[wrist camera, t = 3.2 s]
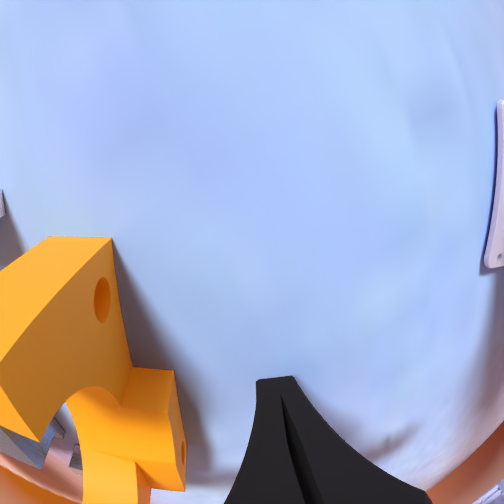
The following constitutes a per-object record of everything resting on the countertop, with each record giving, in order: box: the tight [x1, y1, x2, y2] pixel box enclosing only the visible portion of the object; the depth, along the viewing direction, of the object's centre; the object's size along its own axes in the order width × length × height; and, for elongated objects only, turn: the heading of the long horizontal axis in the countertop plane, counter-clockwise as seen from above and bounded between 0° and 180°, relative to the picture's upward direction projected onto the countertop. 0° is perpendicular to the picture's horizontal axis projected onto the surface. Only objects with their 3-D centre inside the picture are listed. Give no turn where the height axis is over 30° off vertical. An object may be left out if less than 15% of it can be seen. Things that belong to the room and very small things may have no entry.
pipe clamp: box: [0, 236, 187, 504], centre depth 8 cm, size 12×4×6 cm, turn 176°
